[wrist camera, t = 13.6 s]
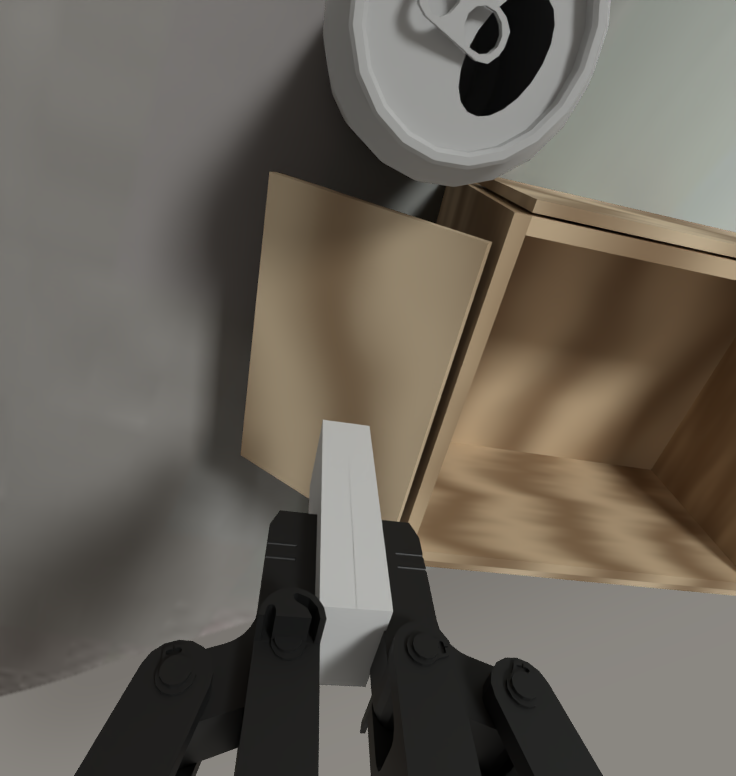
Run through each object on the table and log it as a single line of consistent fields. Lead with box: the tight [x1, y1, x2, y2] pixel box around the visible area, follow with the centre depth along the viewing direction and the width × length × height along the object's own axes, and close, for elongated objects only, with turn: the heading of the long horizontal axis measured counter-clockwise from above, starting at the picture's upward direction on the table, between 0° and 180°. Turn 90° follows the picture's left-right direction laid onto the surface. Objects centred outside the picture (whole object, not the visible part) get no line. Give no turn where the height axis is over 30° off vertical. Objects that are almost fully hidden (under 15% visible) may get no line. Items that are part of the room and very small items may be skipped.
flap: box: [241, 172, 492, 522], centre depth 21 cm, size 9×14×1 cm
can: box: [323, 0, 611, 187], centre depth 16 cm, size 8×8×12 cm
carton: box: [400, 177, 736, 596], centre depth 25 cm, size 20×17×10 cm
